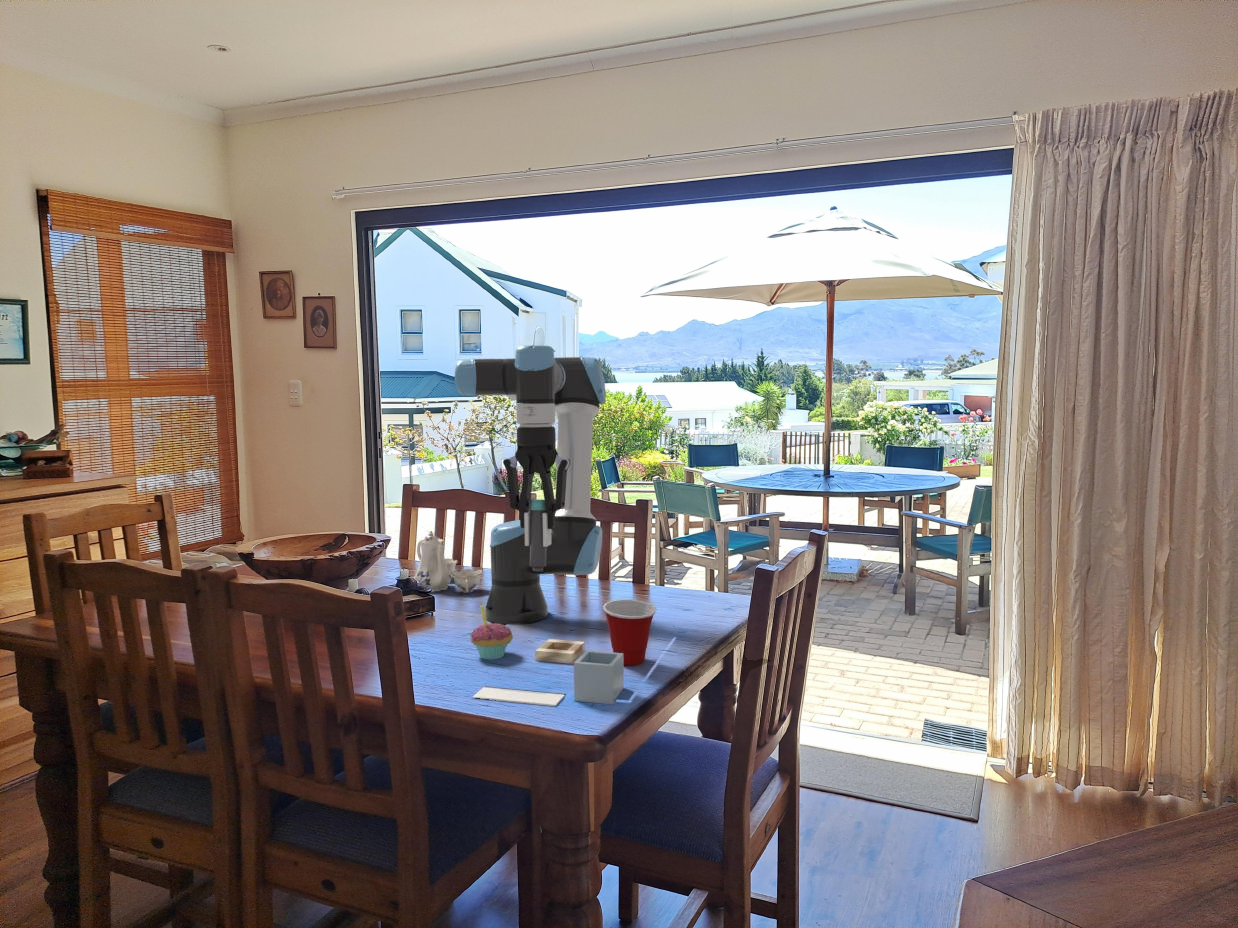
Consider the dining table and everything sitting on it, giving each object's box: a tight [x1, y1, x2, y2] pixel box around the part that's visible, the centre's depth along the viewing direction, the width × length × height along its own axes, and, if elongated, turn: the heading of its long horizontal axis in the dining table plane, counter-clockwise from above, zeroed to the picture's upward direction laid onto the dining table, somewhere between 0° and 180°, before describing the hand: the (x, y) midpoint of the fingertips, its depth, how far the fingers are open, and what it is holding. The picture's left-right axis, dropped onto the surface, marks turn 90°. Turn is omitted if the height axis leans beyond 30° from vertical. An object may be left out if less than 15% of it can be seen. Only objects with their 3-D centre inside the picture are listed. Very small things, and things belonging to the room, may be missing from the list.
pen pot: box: [573, 649, 625, 705], centre depth 156 cm, size 7×7×7 cm
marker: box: [529, 499, 546, 572], centre depth 169 cm, size 3×3×14 cm
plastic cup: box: [602, 599, 658, 667], centre depth 173 cm, size 11×11×12 cm
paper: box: [472, 685, 567, 707], centre depth 161 cm, size 16×14×1 cm
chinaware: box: [412, 530, 483, 594], centre depth 239 cm, size 28×17×17 cm, turn 39°
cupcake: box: [470, 601, 514, 660], centre depth 178 cm, size 9×8×12 cm
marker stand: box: [534, 638, 586, 665], centre depth 178 cm, size 8×8×2 cm
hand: (538, 544), depth 169 cm, fingers closed on marker, 3 cm apart
